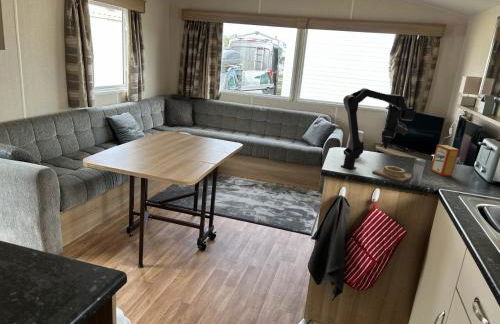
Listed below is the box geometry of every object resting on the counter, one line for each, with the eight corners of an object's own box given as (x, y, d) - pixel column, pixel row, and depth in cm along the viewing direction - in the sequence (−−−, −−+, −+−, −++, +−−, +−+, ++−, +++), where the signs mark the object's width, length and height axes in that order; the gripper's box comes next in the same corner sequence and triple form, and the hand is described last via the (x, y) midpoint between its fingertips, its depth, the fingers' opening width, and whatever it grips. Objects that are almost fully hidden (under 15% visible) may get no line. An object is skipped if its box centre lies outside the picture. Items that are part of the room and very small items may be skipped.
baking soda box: (451, 176, 207) (459, 149, 202) (441, 175, 205) (449, 148, 200) (439, 170, 215) (446, 144, 211) (430, 170, 214) (437, 143, 209)
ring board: (401, 182, 183) (403, 175, 182) (372, 173, 194) (373, 166, 193) (413, 177, 195) (415, 171, 194) (385, 168, 205) (386, 162, 204)
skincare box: (345, 155, 225) (349, 130, 221) (345, 152, 232) (349, 128, 227) (358, 157, 224) (364, 132, 219) (358, 155, 230) (363, 130, 226)
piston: (417, 186, 180) (423, 161, 176) (407, 183, 183) (414, 159, 179) (420, 185, 183) (427, 160, 179) (411, 182, 186) (417, 157, 182)
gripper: (408, 123, 182) (400, 153, 187) (409, 119, 199) (402, 147, 203) (385, 119, 186) (378, 148, 191) (388, 116, 203) (382, 143, 207)
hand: (386, 147), depth 198 cm, fingers open, 9 cm apart
